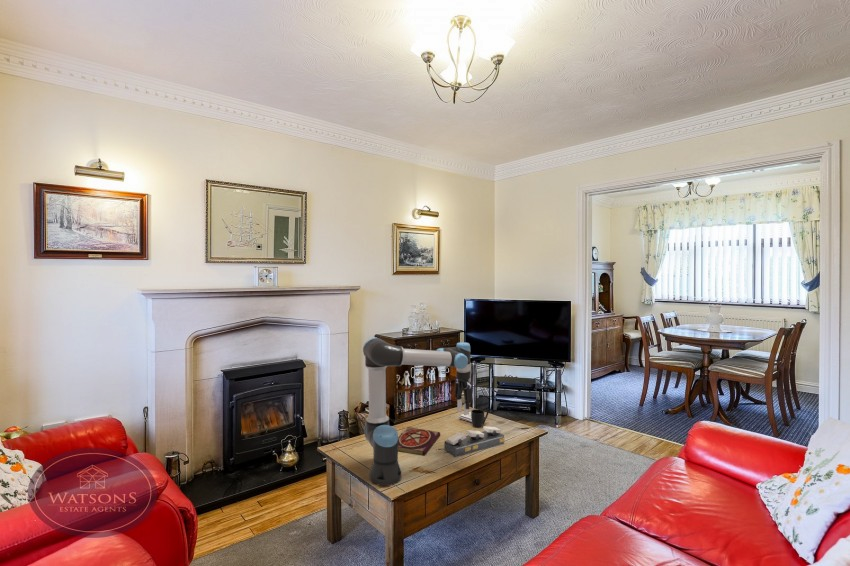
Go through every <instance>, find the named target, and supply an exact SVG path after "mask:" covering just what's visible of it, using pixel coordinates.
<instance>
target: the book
mask: <svg viewBox="0 0 850 566" xmlns="http://www.w3.org/2000/svg"><path fill="white" fill-rule="evenodd" d="M440 437H441V432H440V431H435V430H429V429H424V428H417V427H412V426H411V427H410V426H408V427H407V428H406V429H404V430H403V431H402V432H401V433H400V435H398V453H402V452H404V453H409V454H414V455H415V454H416V455H421V456H423V457H425V456H426V455H427V454H428V452H429V451H430V449H431V448H432V447H433V446H434V444H435V443H436V441H438V439H439V438H440Z"/></svg>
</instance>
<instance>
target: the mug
mask: <svg viewBox="0 0 850 566" xmlns="http://www.w3.org/2000/svg"><path fill="white" fill-rule="evenodd" d="M470 412H471V413H470V417H471V418H470V419H471V422H472V423H471V424H472V427H473V428H477V429H479V428H482V427H483V425H484V424H485V422H486V420H487V418H488V416H489V410H483V409H477V408H476V409H471V411H470ZM485 413H486V414H485Z"/></svg>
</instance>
